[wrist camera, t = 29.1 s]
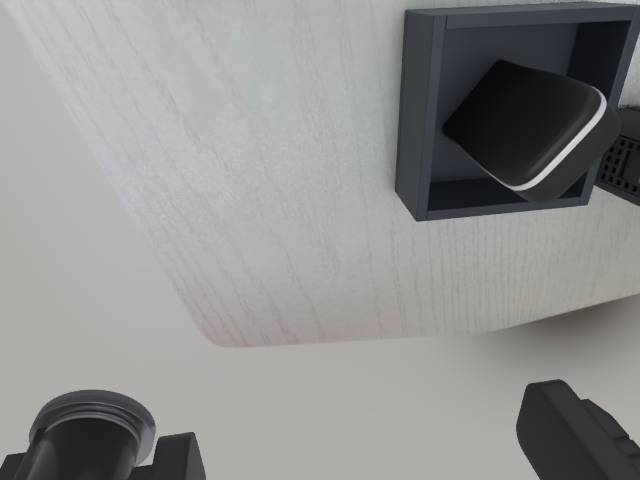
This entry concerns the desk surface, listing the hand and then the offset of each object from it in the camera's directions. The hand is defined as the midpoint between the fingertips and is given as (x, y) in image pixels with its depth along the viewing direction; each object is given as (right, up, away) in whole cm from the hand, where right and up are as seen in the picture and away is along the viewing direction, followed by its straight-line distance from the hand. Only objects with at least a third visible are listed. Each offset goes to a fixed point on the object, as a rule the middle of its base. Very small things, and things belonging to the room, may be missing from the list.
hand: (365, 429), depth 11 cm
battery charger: (+11, +15, +24) cm, 30 cm away
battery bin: (+12, +15, +24) cm, 31 cm away
